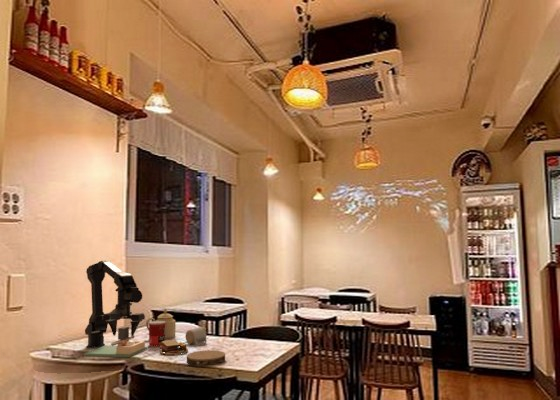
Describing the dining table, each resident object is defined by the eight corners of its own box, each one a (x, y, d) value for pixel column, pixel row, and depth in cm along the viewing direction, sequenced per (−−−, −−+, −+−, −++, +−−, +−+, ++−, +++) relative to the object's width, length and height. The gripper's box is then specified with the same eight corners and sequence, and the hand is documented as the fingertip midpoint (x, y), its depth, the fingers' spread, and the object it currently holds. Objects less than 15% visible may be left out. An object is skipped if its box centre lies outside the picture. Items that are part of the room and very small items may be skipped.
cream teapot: (160, 341, 231) (160, 311, 232) (144, 339, 236) (145, 310, 238) (179, 335, 244) (179, 307, 246) (164, 334, 249) (164, 306, 251)
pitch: (84, 355, 202) (84, 346, 202) (105, 347, 217) (105, 339, 218) (128, 357, 197) (128, 347, 197) (146, 349, 212) (146, 340, 213)
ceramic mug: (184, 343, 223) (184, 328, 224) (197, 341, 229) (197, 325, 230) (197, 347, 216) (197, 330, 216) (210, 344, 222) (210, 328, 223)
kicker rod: (109, 353, 198) (109, 330, 199) (130, 345, 215) (130, 324, 216) (115, 353, 198) (115, 331, 199) (136, 345, 214) (136, 324, 215)
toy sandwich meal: (164, 357, 196) (164, 346, 196) (156, 351, 208) (156, 341, 208) (191, 354, 202) (191, 343, 203) (182, 348, 214) (182, 338, 214)
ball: (131, 341, 203) (132, 351, 203) (136, 339, 208) (137, 348, 207) (123, 342, 204) (124, 352, 204) (128, 340, 209) (129, 349, 208)
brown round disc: (233, 361, 188) (233, 353, 189) (203, 369, 176) (203, 361, 177) (208, 355, 199) (208, 348, 199) (179, 362, 187) (179, 355, 187)
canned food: (161, 346, 217) (161, 323, 219) (145, 346, 219) (146, 323, 220) (168, 343, 225) (168, 320, 226) (153, 342, 227) (153, 320, 228)
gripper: (95, 303, 203) (94, 338, 201) (132, 303, 199) (132, 339, 197) (110, 300, 214) (109, 334, 212) (145, 300, 210) (145, 335, 208)
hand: (123, 335), depth 207 cm, fingers open, 9 cm apart
